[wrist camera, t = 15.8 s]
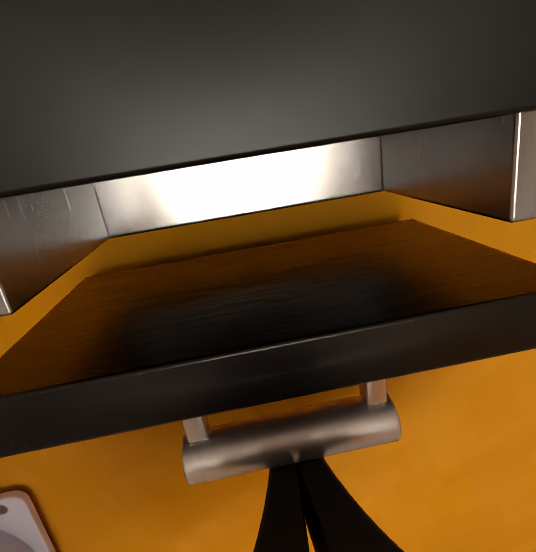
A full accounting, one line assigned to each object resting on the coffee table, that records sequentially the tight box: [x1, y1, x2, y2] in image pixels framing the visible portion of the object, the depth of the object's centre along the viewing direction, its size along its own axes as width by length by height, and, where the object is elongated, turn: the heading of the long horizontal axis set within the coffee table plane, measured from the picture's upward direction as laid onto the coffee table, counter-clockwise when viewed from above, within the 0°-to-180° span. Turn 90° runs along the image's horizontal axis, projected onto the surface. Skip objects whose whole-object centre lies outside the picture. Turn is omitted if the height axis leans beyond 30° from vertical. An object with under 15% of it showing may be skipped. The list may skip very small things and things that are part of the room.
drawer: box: [0, 111, 536, 485], centre depth 9 cm, size 18×11×7 cm, turn 9°
